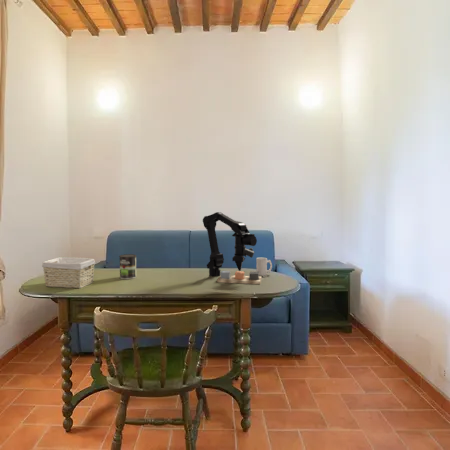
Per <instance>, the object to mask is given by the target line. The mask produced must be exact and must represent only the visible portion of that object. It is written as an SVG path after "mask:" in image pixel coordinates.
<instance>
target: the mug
mask: <svg viewBox="0 0 450 450" xmlns="http://www.w3.org/2000/svg"><path fill="white" fill-rule="evenodd" d="M255 261H256V272H259V276H261V277H265V276H267V274H268V273H271V271H272V268H273V263H272V261H271V259H268V258H267V257H262V256H261V257H256V260H255ZM268 263H269V265H270V267H269V269H268Z"/></svg>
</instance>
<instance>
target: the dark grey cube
mask: <svg viewBox="0 0 450 450" xmlns="http://www.w3.org/2000/svg"><path fill="white" fill-rule="evenodd" d="M249 276H250V279H249V280H259V272H257V271H250V272H249Z"/></svg>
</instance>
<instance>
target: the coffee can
mask: <svg viewBox="0 0 450 450" xmlns="http://www.w3.org/2000/svg"><path fill="white" fill-rule="evenodd" d="M118 257H119V279H120V280H132V279H136V278H137V254H132V253H130V254H129V253H128V254H127V253H126V254H120V255H119V256H118Z"/></svg>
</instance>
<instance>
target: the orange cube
mask: <svg viewBox="0 0 450 450" xmlns="http://www.w3.org/2000/svg"><path fill="white" fill-rule="evenodd" d="M234 275H235V279H244V276H245V271H243V270H242V271H239V270H236V271H235V272H234Z"/></svg>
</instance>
